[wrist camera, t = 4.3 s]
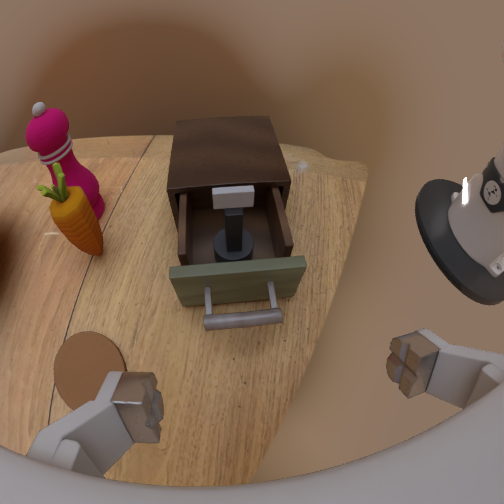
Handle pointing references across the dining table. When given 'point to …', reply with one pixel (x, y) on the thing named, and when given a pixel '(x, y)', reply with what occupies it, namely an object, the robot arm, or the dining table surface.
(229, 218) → the dark grey tall piece
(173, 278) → the drawer
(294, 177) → the dining table surface
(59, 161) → the pepper mill
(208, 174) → the cabinet
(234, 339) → the dining table surface
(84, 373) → the coaster
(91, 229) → the carrot
